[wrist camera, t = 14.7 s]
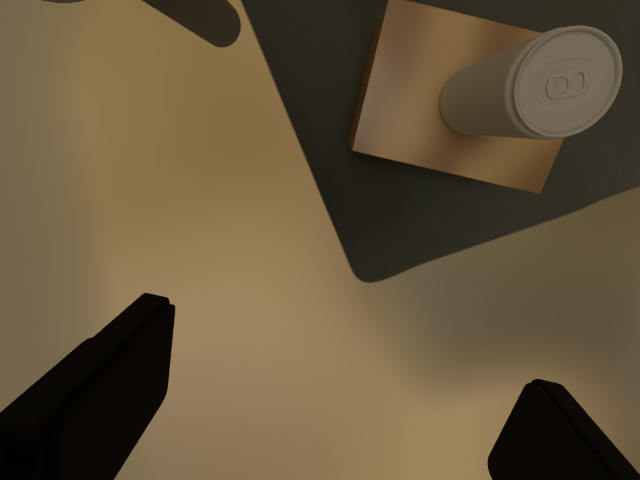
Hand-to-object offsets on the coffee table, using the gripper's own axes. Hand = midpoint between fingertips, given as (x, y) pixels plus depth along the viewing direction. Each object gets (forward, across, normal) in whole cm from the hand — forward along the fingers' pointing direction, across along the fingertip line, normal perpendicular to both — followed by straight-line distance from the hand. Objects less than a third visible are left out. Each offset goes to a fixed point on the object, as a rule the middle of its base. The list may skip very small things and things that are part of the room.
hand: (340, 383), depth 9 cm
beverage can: (+22, -8, -10) cm, 25 cm away
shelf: (+34, -8, -10) cm, 37 cm away
